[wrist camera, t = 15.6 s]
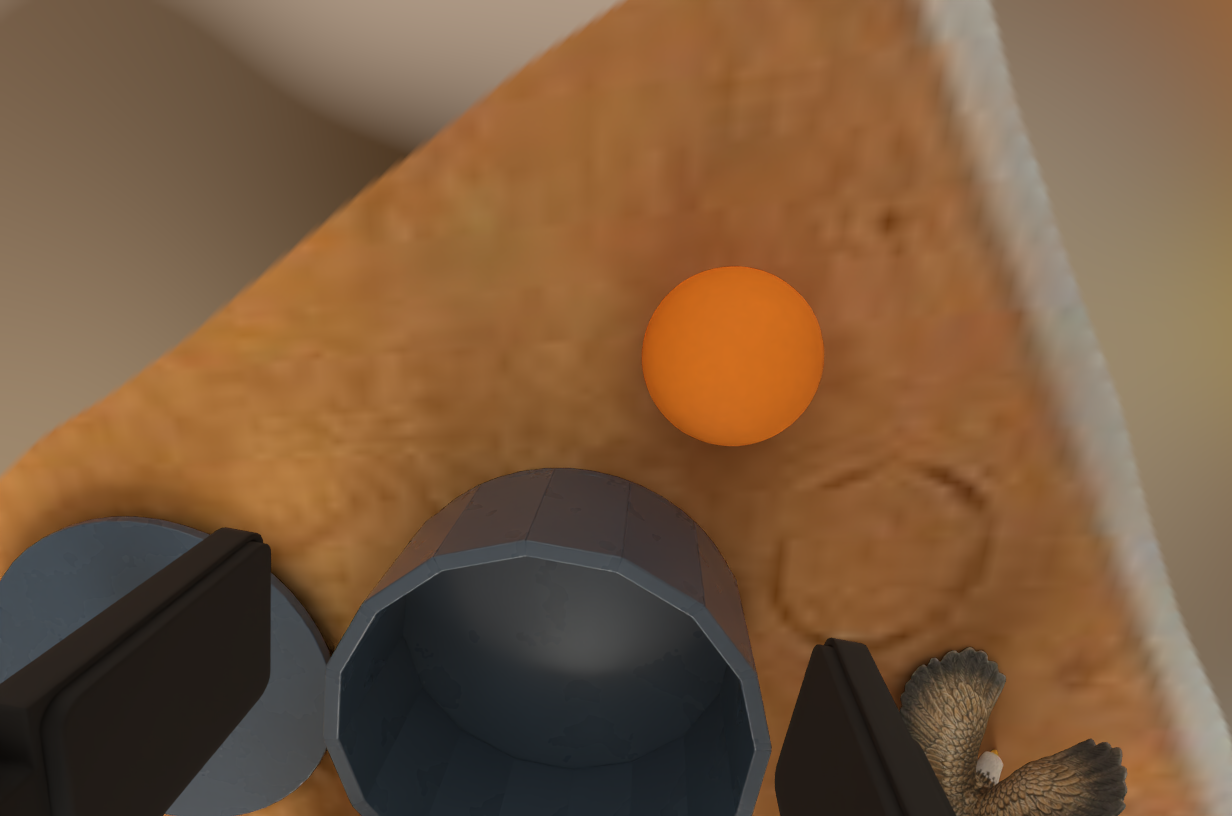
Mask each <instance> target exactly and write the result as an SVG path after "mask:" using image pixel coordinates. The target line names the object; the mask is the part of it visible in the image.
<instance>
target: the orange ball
mask: <svg viewBox="0 0 1232 816" xmlns="http://www.w3.org/2000/svg"><path fill="white" fill-rule="evenodd" d="M823 366H824V345H823V339H822V334H821V330H820V327H819V324H818V321H817V319H816V317H815V315H814V313H813V311H812V309H811V308H810V306H809V305H808V303H807V302H806V301H805V299H804V298H803V297H802V296H801V295H800V294H799V293H798V292H797V291H796V290H795V289H794V288H793V287H791V286H790V285H789V284H788V283H786V282H785V281H783V280H782V279H780V278H778V277H776V276H775V275H772V274H770V273H767V272H765V271H762V270H758V269H754V268H749V267H740V266H733V267H720V268H714V269H710V270H707V271H704V272H701V273H699V274H696V275H694V276H692V277H690V278H688V279H687V280H685V281H683V282H682V283H680V284H679V285H678V286H677V287H675V288H674V289H673V290H672V291H671V292H670V293H669V294H668V295H667V296H666V297H665V298H664V299H663V300H662V302H661V303H660V304H659V306H658V307H657V308H656V310H655V312H654V314H653V316H652V317H651V319H650V322H649V324H648V327H647V329H646V332H645V336H644V340H643V347H642V367H643V374H644V379H645V382H646V385H647V389H648V391H649V393H650V395H651V398H652V400H653V401H654V403H655V404H656V406H657V408H658V409H659V410H660V411H661V413H662V414H663V415H664V416H665V417H666V419H668V420H669V421H670V422H671V423H672V424H673V425H674V426H675V427H677V428H678V429H679V430H681V431H682V432H683V433H685V434H687V435H689V436H691V437H693V438H695V439H698V440H700V441H703V442H707V443H711V444H715V445H723V446H741V445H749V444H753V443H757V442H761V441H763V440H766V439H768V438H771V437H773V436H775V435H776V434H778V433H780V432H782V431H783V430H784V429H786V428H787V427H789V426H790V425H791V424H792V423H793V422H794V421H796V420H797V419H798V418H799V417H800V415H801V414H802V413H803V412H804V411H805V410H806V408H807V407H808V405H809V404H810V402H811V401H812V399H813V397H814V395H815V393H816V391H817V389H818V386H819V383H820V380H821V376H822V371H823Z"/></svg>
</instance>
